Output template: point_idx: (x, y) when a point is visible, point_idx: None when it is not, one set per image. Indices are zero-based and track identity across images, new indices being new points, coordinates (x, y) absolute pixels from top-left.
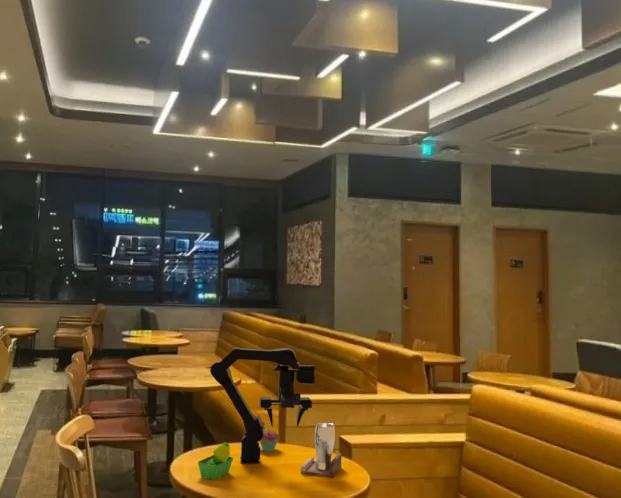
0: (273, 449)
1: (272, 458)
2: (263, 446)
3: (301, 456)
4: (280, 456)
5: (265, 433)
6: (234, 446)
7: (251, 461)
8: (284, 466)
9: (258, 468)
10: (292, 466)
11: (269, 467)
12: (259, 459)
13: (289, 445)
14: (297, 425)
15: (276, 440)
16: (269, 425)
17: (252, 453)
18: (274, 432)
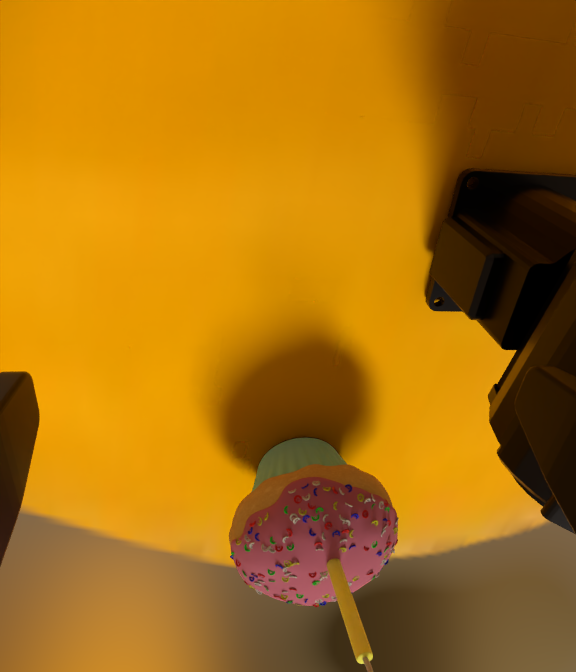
0: (270, 452)
1: (313, 292)
2: (346, 463)
3: (60, 333)
4: (240, 335)
5: (359, 547)
6: (483, 501)
7: (522, 185)
8: (250, 55)
9: (512, 19)
10: (166, 45)
11: (403, 39)
12: (450, 216)
13: (143, 535)
14: (6, 380)
15: (264, 492)
16: (345, 618)
17: (558, 207)
18: (279, 570)
